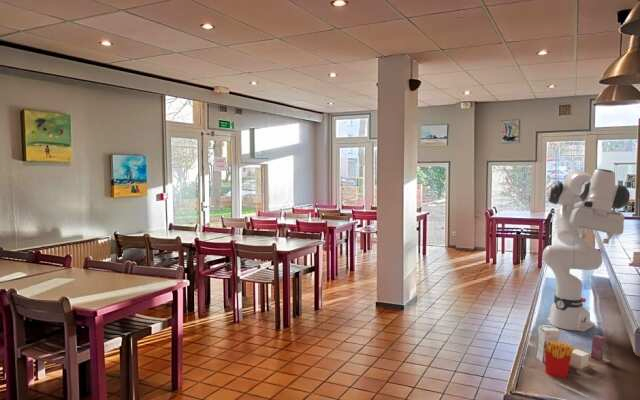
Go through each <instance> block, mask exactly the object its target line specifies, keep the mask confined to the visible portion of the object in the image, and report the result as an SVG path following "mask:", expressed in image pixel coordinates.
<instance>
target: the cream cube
mask: <svg viewBox="0 0 640 400" xmlns="http://www.w3.org/2000/svg"><path fill="white" fill-rule="evenodd" d="M589 354H590V353H587V352H585V351H583V350H580V349H577V348H575V349H573V352H572V355H571V359H570V365H572V366H575V367H577V368H580V369H581V368H584V367H587V366H588V360H589Z"/></svg>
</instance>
